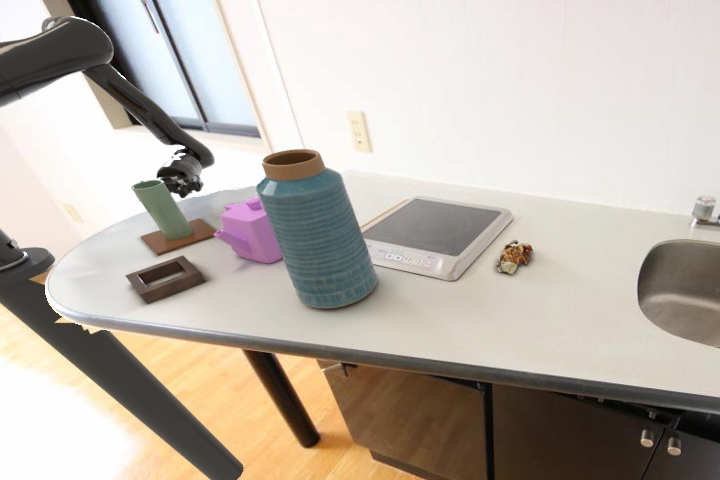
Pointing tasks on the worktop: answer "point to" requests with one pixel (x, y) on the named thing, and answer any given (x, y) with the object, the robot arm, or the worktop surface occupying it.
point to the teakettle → (249, 232)
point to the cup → (163, 209)
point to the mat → (165, 245)
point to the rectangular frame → (168, 286)
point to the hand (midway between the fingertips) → (161, 196)
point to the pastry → (513, 256)
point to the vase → (316, 229)
